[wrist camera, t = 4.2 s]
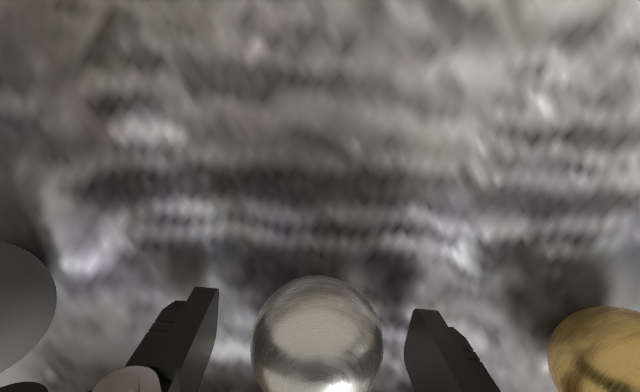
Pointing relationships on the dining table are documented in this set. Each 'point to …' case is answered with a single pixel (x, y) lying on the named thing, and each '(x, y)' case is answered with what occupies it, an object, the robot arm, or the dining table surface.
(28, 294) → the rubber ball
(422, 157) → the dining table surface
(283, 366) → the steel ball
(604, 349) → the brass ball
